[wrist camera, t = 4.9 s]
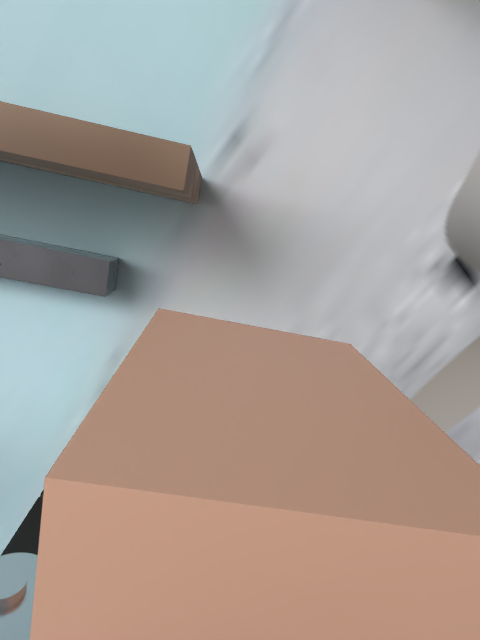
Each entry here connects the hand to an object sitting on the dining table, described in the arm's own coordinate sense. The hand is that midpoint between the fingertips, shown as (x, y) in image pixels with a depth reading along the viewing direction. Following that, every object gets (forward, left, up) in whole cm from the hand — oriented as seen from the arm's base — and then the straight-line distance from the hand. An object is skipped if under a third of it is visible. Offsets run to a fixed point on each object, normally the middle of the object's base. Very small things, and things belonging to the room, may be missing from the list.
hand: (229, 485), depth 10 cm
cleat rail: (-2, -15, -14) cm, 21 cm away
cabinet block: (0, 0, -2) cm, 2 cm away
